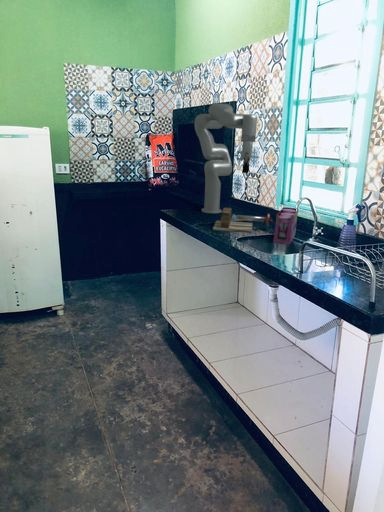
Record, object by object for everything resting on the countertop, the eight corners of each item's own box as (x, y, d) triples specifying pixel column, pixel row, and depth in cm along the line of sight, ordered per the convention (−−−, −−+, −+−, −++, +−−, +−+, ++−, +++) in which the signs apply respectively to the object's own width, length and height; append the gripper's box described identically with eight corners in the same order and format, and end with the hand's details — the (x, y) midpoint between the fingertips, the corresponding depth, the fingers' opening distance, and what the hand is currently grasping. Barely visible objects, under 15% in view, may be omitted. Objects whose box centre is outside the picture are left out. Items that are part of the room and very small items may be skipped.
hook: (236, 221, 221) (237, 210, 219) (272, 224, 218) (273, 212, 216) (235, 224, 215) (236, 212, 213) (272, 227, 212) (273, 215, 210)
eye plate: (216, 222, 228) (217, 206, 226) (252, 224, 226) (253, 208, 223) (212, 229, 211) (213, 212, 209) (251, 232, 209) (253, 215, 206)
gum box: (289, 246, 188) (292, 217, 184) (272, 244, 190) (275, 215, 186) (295, 234, 209) (298, 208, 205) (280, 232, 212) (282, 206, 208)
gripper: (241, 138, 224) (239, 169, 229) (240, 139, 208) (237, 173, 213) (255, 138, 223) (252, 170, 228) (255, 139, 207) (252, 174, 212)
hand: (245, 171), depth 220 cm, fingers open, 9 cm apart
